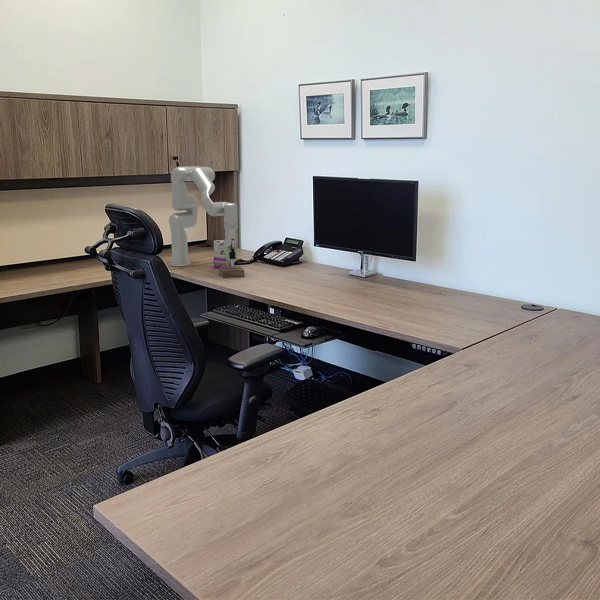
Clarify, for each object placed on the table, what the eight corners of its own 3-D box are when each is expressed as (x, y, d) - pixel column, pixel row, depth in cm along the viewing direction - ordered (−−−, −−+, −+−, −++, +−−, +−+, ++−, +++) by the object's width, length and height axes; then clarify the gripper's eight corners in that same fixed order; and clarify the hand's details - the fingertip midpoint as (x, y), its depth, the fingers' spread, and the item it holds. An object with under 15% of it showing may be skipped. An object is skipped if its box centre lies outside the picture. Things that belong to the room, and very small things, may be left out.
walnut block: (219, 273, 356) (218, 266, 355) (239, 272, 359) (239, 265, 358) (222, 278, 345) (222, 270, 344) (244, 276, 348) (244, 269, 347)
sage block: (226, 259, 351) (225, 247, 350) (235, 259, 353) (234, 246, 351) (227, 260, 347) (227, 248, 345) (236, 260, 348) (236, 248, 347)
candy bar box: (234, 267, 374) (233, 240, 370) (231, 269, 369) (230, 241, 366) (217, 266, 377) (216, 239, 373) (213, 268, 373) (213, 240, 369)
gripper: (221, 224, 352) (222, 256, 356) (226, 227, 336) (227, 261, 341) (234, 223, 354) (235, 255, 359) (240, 227, 338) (241, 260, 343)
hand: (231, 257), depth 349 cm, fingers closed on sage block, 5 cm apart
